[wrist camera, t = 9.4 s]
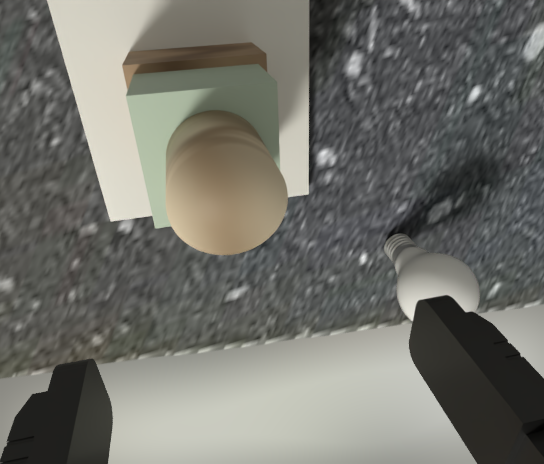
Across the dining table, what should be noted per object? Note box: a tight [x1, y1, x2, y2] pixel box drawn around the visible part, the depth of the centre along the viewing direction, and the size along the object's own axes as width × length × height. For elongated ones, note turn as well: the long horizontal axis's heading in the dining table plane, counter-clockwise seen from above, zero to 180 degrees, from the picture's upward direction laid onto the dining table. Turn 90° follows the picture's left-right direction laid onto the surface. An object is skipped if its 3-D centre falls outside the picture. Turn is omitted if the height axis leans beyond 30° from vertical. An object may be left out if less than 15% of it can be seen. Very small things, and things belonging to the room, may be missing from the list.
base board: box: [47, 0, 309, 221], centre depth 30 cm, size 16×16×1 cm
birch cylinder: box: [166, 110, 288, 255], centre depth 19 cm, size 5×5×5 cm
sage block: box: [126, 64, 280, 228], centre depth 23 cm, size 7×7×5 cm
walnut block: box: [122, 42, 267, 91], centre depth 28 cm, size 8×8×5 cm
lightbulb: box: [384, 233, 480, 322], centre depth 36 cm, size 6×6×11 cm
